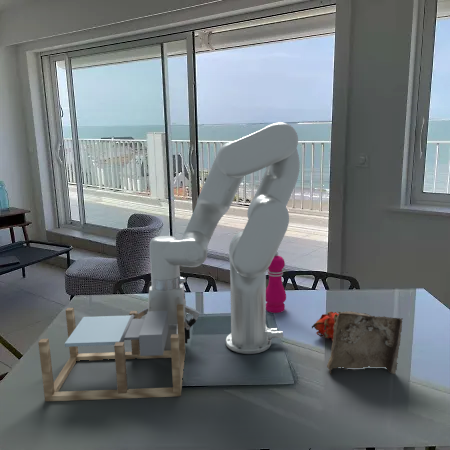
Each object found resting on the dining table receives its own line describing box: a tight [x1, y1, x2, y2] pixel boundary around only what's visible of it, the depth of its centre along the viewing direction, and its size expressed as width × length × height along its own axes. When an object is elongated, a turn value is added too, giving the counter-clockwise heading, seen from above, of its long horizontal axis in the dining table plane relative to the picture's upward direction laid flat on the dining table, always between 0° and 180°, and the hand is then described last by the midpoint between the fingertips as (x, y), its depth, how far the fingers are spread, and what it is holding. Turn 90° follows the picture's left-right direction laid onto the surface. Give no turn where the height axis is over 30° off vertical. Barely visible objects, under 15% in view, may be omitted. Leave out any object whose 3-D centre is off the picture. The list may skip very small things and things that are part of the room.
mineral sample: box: [326, 310, 404, 375], centre depth 99 cm, size 17×4×15 cm, turn 88°
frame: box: [38, 304, 186, 402], centre depth 99 cm, size 30×19×14 cm, turn 92°
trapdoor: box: [64, 311, 169, 356], centre depth 98 cm, size 21×15×5 cm
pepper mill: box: [266, 251, 287, 314], centre depth 136 cm, size 7×7×20 cm
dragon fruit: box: [311, 311, 342, 343], centre depth 117 cm, size 8×8×12 cm
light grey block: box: [164, 324, 178, 351], centre depth 114 cm, size 5×5×6 cm
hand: (168, 341), depth 114 cm, fingers open, 9 cm apart
